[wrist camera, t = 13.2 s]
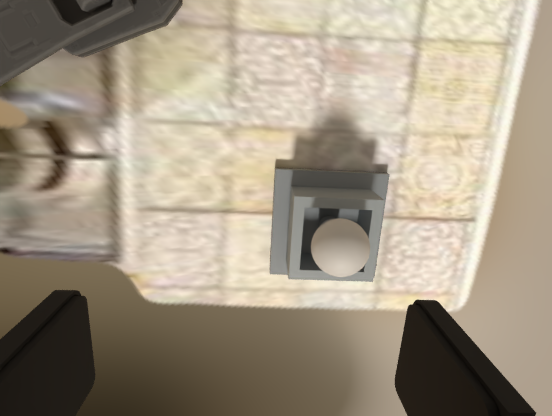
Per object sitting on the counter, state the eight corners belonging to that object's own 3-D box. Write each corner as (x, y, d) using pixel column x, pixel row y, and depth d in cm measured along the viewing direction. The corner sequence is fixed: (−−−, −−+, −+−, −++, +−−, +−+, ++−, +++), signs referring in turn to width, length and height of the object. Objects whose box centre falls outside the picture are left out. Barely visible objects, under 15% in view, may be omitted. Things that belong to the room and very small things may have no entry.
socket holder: (275, 167, 43) (277, 177, 38) (386, 172, 44) (405, 183, 38) (269, 270, 47) (270, 293, 42) (372, 273, 48) (386, 297, 42)
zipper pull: (-112, 23, 32) (127, -118, 30) (-50, 36, 38) (151, -79, 36) (-44, 116, 34) (181, -8, 32) (3, 113, 41) (194, 10, 38)
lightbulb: (361, 217, 45) (390, 252, 34) (331, 254, 46) (351, 298, 35) (323, 190, 44) (341, 217, 33) (294, 228, 45) (302, 266, 34)
